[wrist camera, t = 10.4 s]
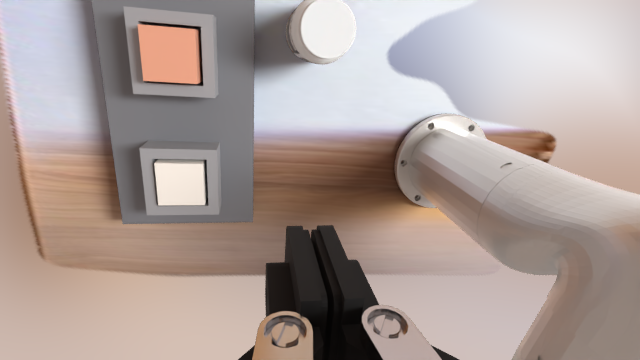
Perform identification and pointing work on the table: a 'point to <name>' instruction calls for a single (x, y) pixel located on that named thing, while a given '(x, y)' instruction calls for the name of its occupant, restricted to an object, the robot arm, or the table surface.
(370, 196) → the table surface
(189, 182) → the pale key
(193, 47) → the terracotta key
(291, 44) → the pill bottle
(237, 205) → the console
